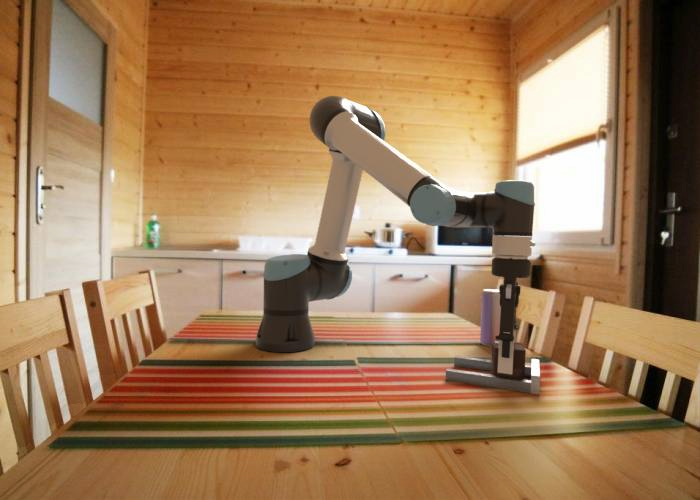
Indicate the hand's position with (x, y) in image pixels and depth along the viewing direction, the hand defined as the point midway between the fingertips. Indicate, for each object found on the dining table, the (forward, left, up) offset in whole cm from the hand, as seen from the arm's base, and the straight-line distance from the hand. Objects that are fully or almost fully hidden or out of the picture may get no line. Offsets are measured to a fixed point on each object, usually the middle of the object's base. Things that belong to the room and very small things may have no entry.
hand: (506, 365), depth 88 cm
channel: (-3, 0, -3) cm, 4 cm away
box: (0, 0, -3) cm, 3 cm away
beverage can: (-5, +29, -3) cm, 30 cm away
